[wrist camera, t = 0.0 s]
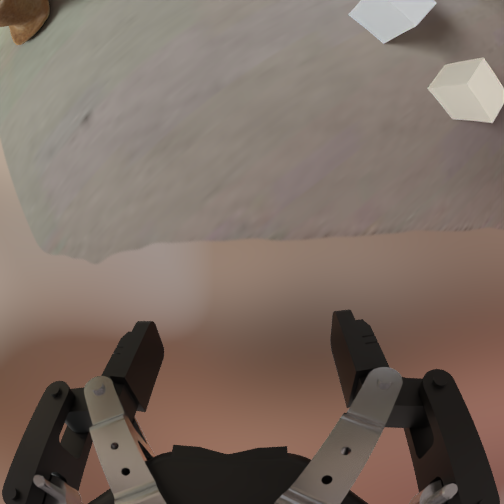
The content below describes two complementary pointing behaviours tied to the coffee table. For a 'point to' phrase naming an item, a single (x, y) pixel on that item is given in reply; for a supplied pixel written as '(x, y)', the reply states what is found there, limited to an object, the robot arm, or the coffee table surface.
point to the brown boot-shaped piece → (23, 17)
